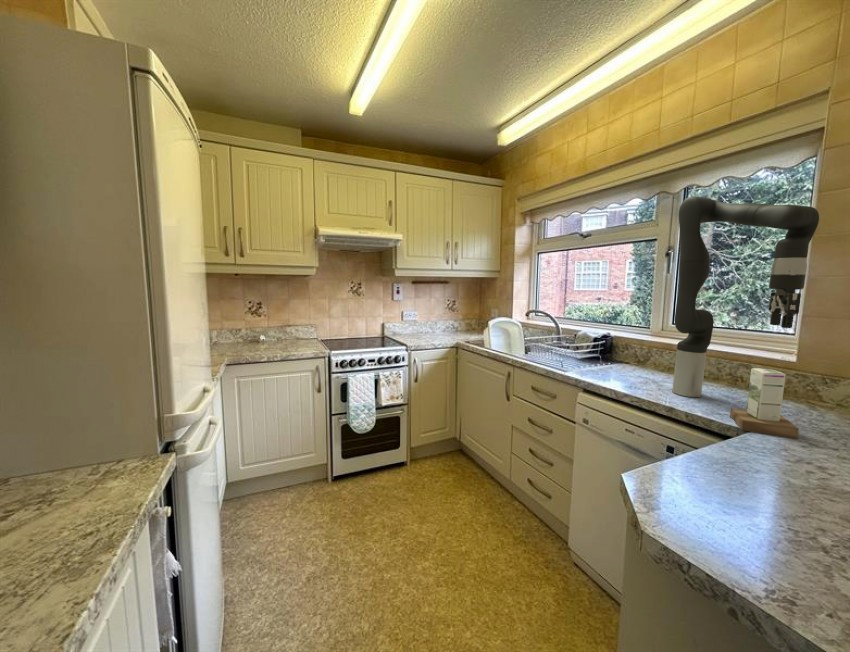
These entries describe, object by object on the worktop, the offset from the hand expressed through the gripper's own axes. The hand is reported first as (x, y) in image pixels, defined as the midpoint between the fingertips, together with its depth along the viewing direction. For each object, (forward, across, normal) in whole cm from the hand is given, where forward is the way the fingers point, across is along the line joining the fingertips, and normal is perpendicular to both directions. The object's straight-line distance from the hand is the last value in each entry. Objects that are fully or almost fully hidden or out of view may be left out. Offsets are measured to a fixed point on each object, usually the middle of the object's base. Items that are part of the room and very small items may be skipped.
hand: (780, 326), depth 110 cm
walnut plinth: (+30, +9, -4) cm, 32 cm away
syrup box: (+27, +9, -4) cm, 29 cm away
